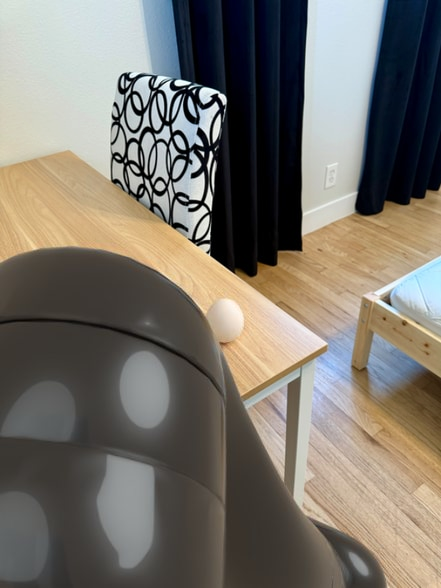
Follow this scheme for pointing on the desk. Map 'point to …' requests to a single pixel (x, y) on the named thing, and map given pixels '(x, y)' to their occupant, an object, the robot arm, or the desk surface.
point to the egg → (225, 319)
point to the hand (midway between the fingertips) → (97, 379)
